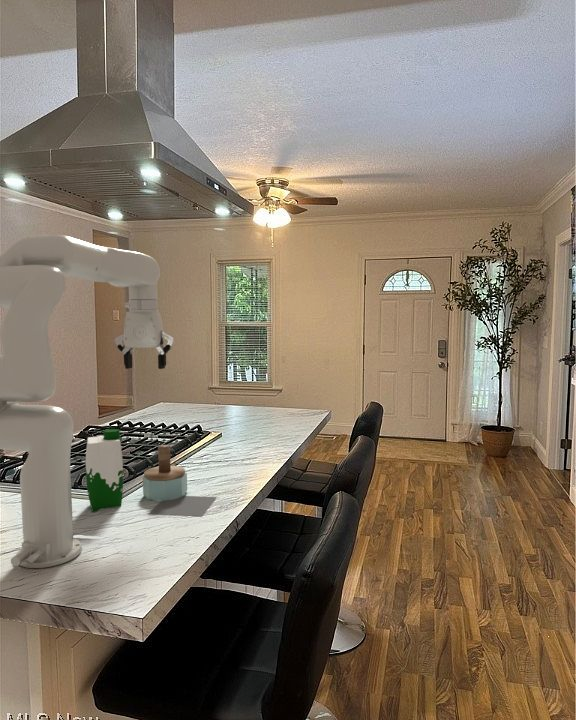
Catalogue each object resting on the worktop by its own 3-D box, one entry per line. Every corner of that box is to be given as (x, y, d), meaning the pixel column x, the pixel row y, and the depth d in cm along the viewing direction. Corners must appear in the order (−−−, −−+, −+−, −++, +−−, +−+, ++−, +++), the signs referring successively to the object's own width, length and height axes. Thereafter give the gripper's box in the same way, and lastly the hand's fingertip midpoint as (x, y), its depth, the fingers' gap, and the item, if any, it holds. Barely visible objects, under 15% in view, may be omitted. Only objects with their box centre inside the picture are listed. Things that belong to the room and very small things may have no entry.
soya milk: (125, 508, 139) (122, 432, 137) (87, 513, 135) (84, 436, 134) (122, 498, 147) (120, 426, 145) (87, 502, 144) (84, 429, 142)
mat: (202, 518, 131) (202, 516, 131) (147, 516, 133) (147, 514, 133) (217, 499, 145) (217, 497, 145) (167, 497, 147) (167, 495, 147)
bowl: (177, 503, 142) (177, 481, 141) (138, 502, 143) (137, 480, 143) (191, 490, 153) (190, 469, 152) (154, 488, 154) (153, 468, 154)
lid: (177, 481, 141) (176, 451, 141) (137, 480, 143) (136, 450, 142) (190, 469, 152) (189, 442, 152) (153, 468, 154) (152, 441, 153)
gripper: (107, 306, 145) (109, 369, 147) (168, 306, 143) (169, 370, 144) (120, 307, 153) (122, 367, 154) (178, 306, 150) (179, 367, 151)
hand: (145, 368), depth 149 cm, fingers open, 9 cm apart
